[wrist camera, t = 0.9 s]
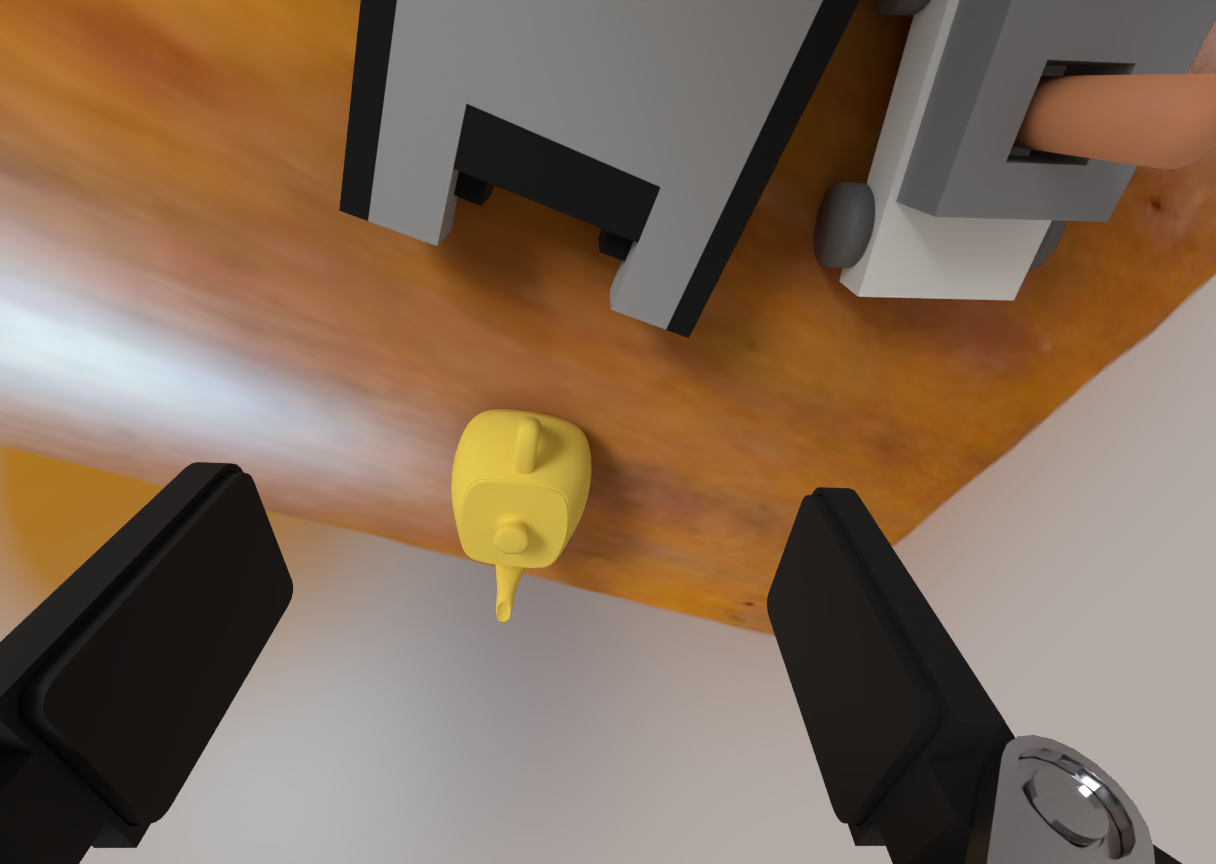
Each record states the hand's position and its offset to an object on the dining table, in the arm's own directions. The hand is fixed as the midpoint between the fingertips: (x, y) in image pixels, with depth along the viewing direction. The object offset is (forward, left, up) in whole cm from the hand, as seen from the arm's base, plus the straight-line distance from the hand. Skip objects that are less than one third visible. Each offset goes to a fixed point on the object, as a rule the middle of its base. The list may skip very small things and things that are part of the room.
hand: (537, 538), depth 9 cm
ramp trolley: (-6, +23, -30) cm, 38 cm away
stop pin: (-6, +23, -25) cm, 34 cm away
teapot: (+21, -4, -30) cm, 37 cm away
